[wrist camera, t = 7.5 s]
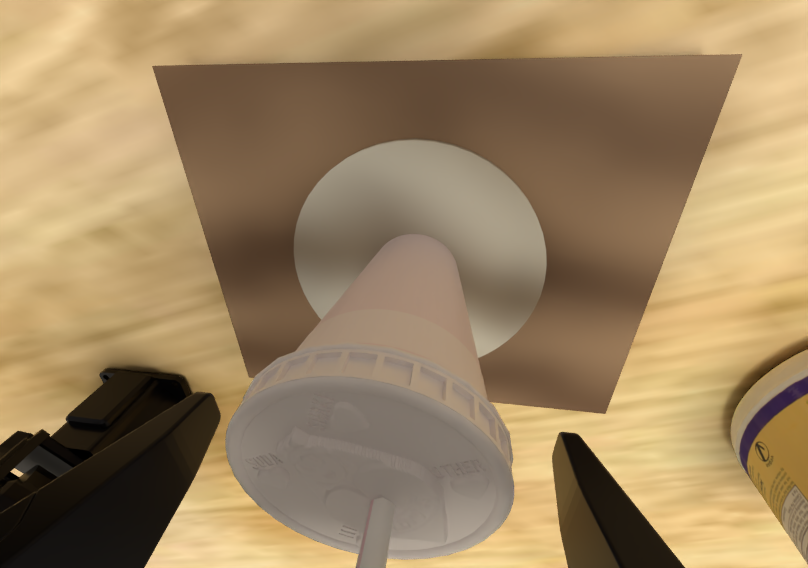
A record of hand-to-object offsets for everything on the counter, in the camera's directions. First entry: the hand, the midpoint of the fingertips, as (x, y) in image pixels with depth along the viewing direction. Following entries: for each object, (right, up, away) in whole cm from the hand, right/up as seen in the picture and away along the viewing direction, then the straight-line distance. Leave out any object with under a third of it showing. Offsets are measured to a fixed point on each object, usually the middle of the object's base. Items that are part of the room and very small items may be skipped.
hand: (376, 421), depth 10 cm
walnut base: (+2, +5, +9) cm, 11 cm away
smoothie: (+1, +4, +7) cm, 8 cm away
